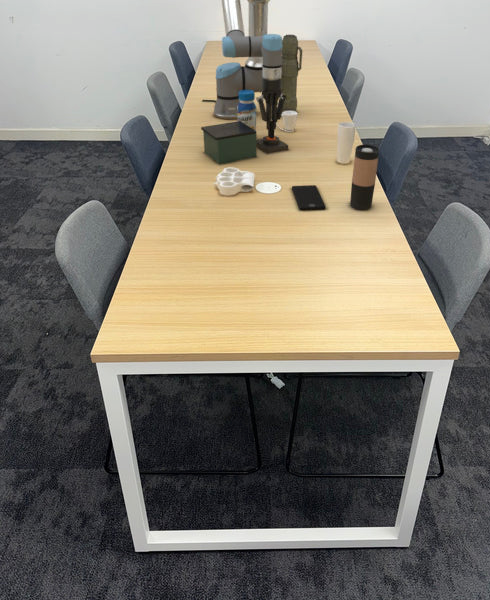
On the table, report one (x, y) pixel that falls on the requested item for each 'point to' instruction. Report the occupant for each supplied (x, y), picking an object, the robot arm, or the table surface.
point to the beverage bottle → (247, 108)
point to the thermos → (290, 71)
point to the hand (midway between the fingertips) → (271, 137)
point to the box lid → (228, 130)
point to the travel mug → (364, 176)
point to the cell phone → (308, 197)
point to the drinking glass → (345, 141)
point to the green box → (230, 148)
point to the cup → (289, 120)
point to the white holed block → (234, 181)
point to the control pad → (271, 145)
